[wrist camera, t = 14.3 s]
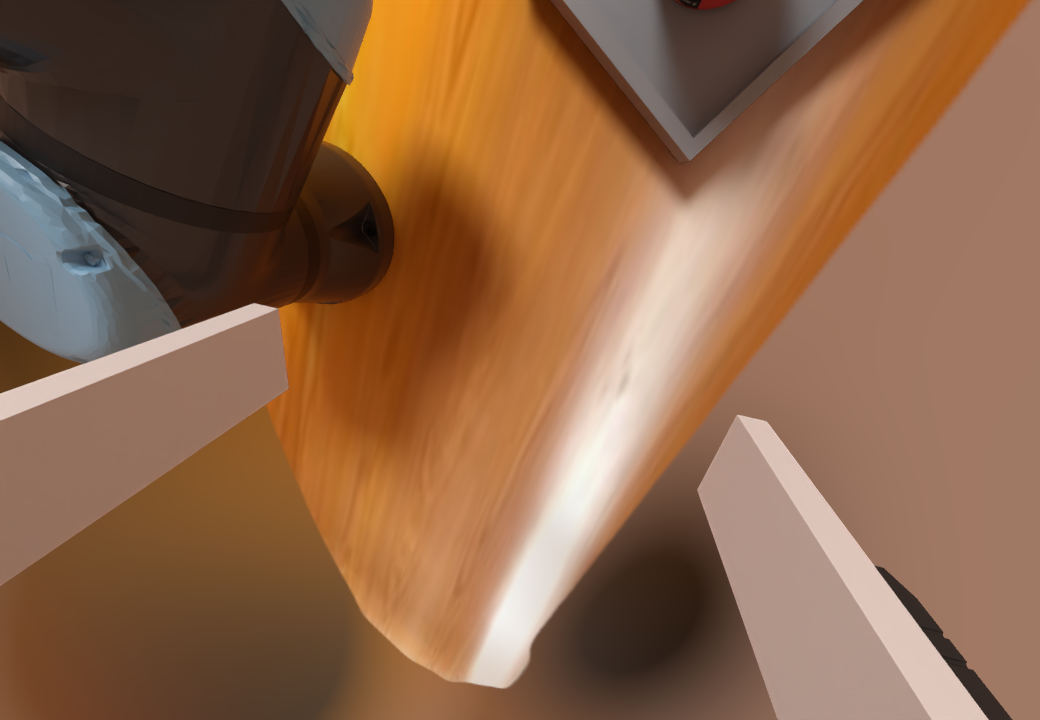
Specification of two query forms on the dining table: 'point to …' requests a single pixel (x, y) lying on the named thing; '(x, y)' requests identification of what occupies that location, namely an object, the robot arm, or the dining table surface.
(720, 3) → the canned food
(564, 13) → the tray
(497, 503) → the dining table surface
